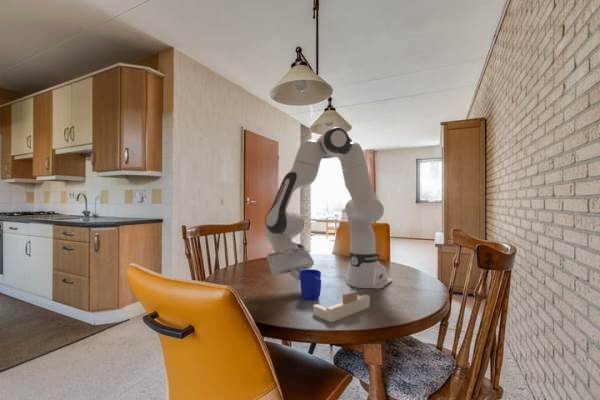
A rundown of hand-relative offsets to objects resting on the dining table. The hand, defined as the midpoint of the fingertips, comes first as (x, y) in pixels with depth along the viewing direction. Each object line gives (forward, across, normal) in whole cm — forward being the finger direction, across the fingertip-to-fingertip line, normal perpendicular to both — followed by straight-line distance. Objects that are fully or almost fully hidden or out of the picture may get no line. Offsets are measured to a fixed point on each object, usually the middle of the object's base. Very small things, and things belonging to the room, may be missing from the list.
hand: (300, 279), depth 116 cm
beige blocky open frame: (+20, 0, -11) cm, 23 cm away
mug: (+9, 0, 0) cm, 9 cm away
